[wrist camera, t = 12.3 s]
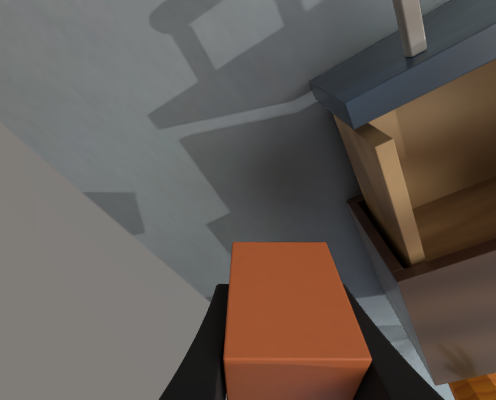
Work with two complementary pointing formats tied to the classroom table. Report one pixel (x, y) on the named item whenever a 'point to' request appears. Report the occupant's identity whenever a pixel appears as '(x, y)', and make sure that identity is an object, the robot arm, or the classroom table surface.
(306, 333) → the block
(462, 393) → the carrot
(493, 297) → the cabinet
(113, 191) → the classroom table surface
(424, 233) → the drawer
